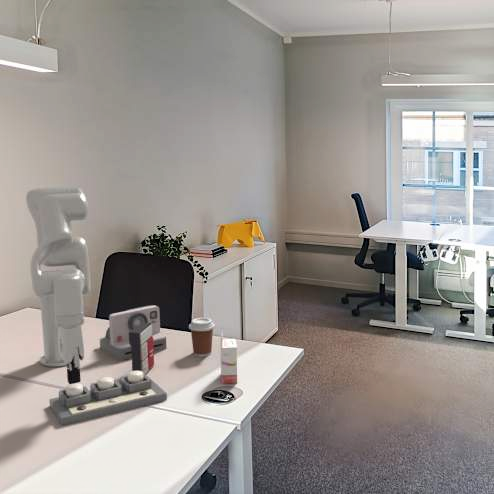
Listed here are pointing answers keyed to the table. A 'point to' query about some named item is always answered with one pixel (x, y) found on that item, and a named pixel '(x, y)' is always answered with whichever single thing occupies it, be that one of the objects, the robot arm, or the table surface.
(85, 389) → the switch panel
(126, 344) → the instant camera
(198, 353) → the coffee cup
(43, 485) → the table surface
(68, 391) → the button
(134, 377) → the button
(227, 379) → the ink cartridge box
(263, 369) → the table surface
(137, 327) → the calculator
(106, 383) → the button
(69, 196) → the robot arm
